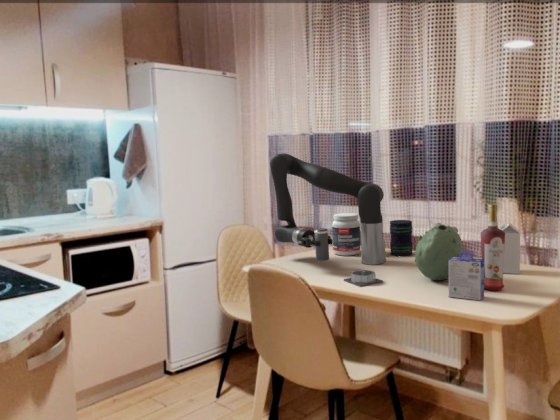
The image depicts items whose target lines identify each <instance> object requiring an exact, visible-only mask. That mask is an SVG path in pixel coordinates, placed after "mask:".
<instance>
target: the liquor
mask: <svg viewBox="0 0 560 420" xmlns="http://www.w3.org/2000/svg"><path fill="white" fill-rule="evenodd" d="M487 206H488V207H487V208H488V210H487V211H488V222H487V223H488V224H487V228H486V229H485V228H484V229H482V230H481V232H480V248H481V250H480V251H481V259H484V290H487V291H488V292H489V291H490V292H499V291H501V290H502V289H503V288H504V287H505V285H504V283H503V282H504V273H503V262H504V248H505V232H504V231H502V230H501V229H500V228H499V227H498V215H497V214H498V203H497V204H496V203H495V204H494V203H490V204H489V203H488V205H487Z"/></svg>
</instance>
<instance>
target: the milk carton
mask: <svg viewBox="0 0 560 420" xmlns="http://www.w3.org/2000/svg"><path fill="white" fill-rule="evenodd" d="M498 229H501V230H502V231H504V232H505V248H504V262H503V274H514V275H520V274H521V271H520V270H521V232H520V229H518V228H517V227H516V226H514V225H513V224H512V223H511V222H510V219H508V223H507V224H505V223H503V224H501V225H500V226H499V227H498Z"/></svg>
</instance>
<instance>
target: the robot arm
mask: <svg viewBox="0 0 560 420" xmlns="http://www.w3.org/2000/svg"><path fill="white" fill-rule="evenodd" d="M269 167H270V173H271V177H272V180H273V186H274V192H275V199H276V201H275V202H276V209H277V210H276V211H277V212H276V213H277V219H278V220H279V221H281V222H286V223H287V225H281V226H278V227H276V228H275V230H274V237H275V239H276V241H278V242H280V243H287V244H288V243H292V244H296V245H297V246H300V247H303V248H308V249H309V248H312V247H315V246H320V242H319V241H318V240H315V233H314V230H313V229H307V228H302V227H301V228H300V227H297V224H296V221H295V217H294V210H293V201H292V195H291V193H290V190H289V188H288V179H287V178H288V175H291V176H296V177H298V178H301V179H303V180H304V181H306V182H307V183H309V184H311V185H312V186H314V187H316V188H319V189H322V190H324V191H327V192H331V193H337V194H342V195H348V196H351V197H354V198H357V207H358V218H359V222H360V250H361V251H360V254H361V257H360V258H361V260H360V261H361V264H363V265H372V266H373V265H381V264H383V263H386V240H385V239H384V229H383V228H384V227H383V225H384V224H383V221H384V219H383V215H382V210H381V207H382V206H381V203H382V200H383V199H384V196H385V194H384V190H383V189H382V187H381V186H379V185H378V184H376V183H371V182H367V181H362V180H359V179H355V178H352V177H351V176H349V175H346V174H344V173H341V172H340V171H336V170H334V169H330V168H328V167H325V166H321V165H318V164H314V163H311V162H307V161H304V160H301V159H299V158H297V157H296V156H294V155H291V154H290V153H277V154H274V155H273V156H272V157H270V161H269ZM331 236H332V235H329V234H328V245H333V238H332V237H331Z"/></svg>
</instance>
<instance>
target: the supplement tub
mask: <svg viewBox="0 0 560 420" xmlns="http://www.w3.org/2000/svg"><path fill="white" fill-rule="evenodd" d="M358 219H359V213H353V212H341V213H335V214H333V221H332V224H331V230H332V232H331V233H332V235H331V236H332V252H333V253H334V255H337V256H343V257H348V256H349V257H350V256H356V255H359V254H361V228H360V220H358Z"/></svg>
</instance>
